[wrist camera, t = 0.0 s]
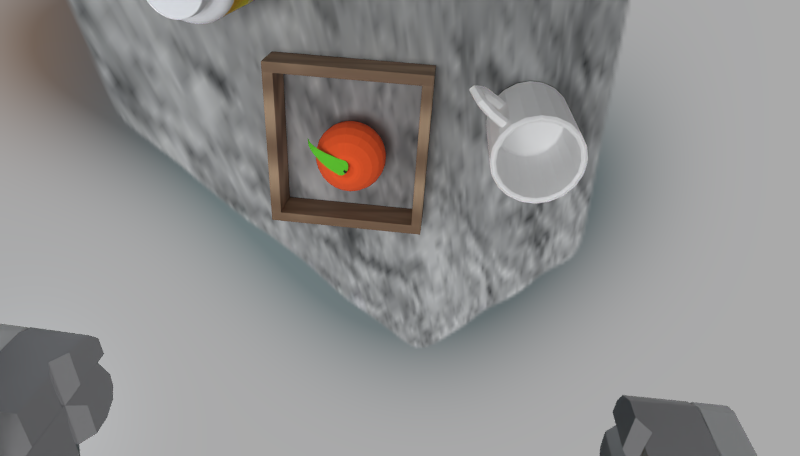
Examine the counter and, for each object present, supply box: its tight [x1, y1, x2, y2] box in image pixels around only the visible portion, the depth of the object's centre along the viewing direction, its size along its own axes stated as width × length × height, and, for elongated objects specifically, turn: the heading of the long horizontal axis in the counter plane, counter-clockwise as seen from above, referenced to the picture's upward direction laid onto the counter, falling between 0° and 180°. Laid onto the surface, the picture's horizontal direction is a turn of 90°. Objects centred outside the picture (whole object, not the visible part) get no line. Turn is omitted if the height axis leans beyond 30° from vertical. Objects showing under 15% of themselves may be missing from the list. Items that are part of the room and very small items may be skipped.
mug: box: [469, 81, 588, 203], centre depth 51 cm, size 8×12×10 cm
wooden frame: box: [261, 52, 436, 234], centre depth 57 cm, size 17×16×4 cm
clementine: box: [308, 121, 386, 191], centre depth 56 cm, size 8×7×7 cm
